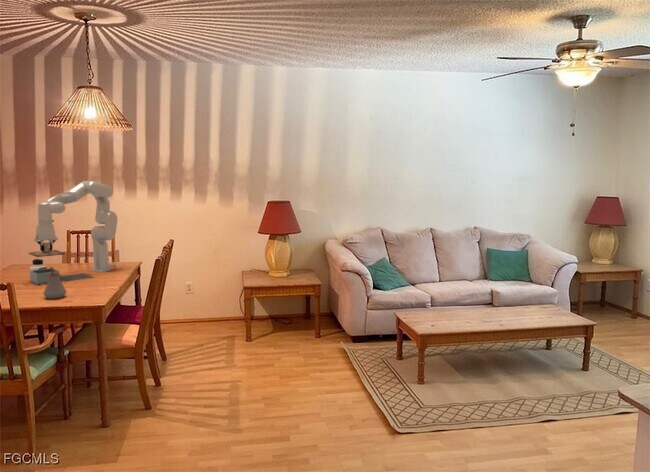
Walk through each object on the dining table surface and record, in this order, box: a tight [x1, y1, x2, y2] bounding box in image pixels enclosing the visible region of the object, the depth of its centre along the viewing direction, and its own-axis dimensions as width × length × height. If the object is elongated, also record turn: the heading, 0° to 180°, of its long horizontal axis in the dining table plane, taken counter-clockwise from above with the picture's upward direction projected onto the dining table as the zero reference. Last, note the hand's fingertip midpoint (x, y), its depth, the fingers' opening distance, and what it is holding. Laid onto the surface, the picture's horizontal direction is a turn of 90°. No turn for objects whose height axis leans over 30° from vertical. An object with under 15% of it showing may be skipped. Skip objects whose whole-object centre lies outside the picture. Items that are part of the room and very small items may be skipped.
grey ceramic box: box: [29, 267, 60, 286], centre depth 335 cm, size 13×13×7 cm
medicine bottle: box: [29, 258, 48, 272], centre depth 349 cm, size 7×7×12 cm
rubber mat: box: [60, 273, 96, 282], centre depth 349 cm, size 19×19×1 cm
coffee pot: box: [43, 266, 67, 300], centre depth 300 cm, size 21×12×15 cm, turn 32°
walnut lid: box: [28, 242, 66, 258], centre depth 335 cm, size 16×16×7 cm
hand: (46, 250), depth 335 cm, fingers closed on walnut lid, 4 cm apart
